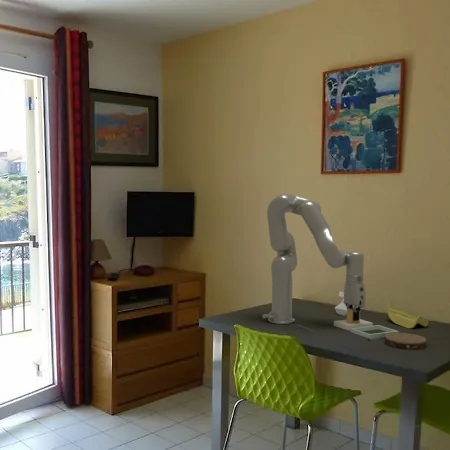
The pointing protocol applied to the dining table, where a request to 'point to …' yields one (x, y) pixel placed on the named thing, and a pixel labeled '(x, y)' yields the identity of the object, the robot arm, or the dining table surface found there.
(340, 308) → the white faceted figurine
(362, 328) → the tray
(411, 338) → the wood slice coaster
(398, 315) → the plastic component
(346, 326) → the block
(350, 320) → the tan rectangular block
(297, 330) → the dining table surface
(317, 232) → the robot arm
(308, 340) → the dining table surface
